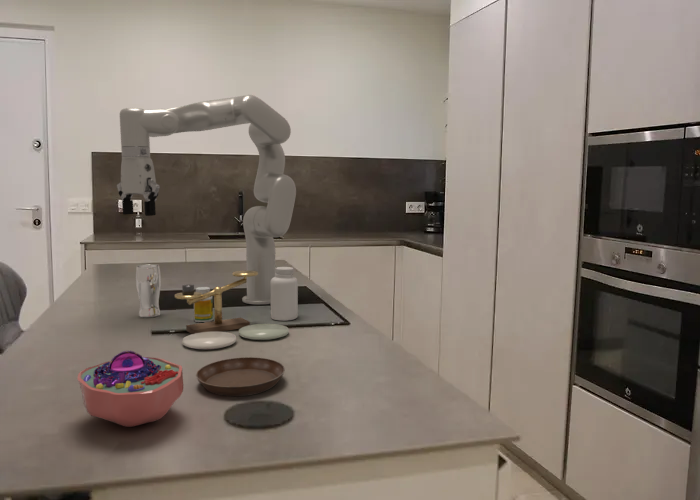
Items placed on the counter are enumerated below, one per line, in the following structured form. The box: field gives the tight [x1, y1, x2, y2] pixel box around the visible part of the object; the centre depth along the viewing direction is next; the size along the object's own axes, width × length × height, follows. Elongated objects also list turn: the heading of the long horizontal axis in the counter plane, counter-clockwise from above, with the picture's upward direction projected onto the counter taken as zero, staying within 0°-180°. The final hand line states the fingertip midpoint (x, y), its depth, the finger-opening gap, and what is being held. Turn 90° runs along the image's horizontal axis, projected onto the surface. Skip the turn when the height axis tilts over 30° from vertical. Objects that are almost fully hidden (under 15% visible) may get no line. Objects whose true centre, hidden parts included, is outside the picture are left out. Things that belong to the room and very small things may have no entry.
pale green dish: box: [238, 323, 290, 341], centre depth 158 cm, size 13×13×1 cm
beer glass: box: [135, 263, 162, 319], centre depth 178 cm, size 7×7×15 cm
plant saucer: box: [195, 356, 286, 397], centre depth 122 cm, size 18×18×3 cm
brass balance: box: [174, 270, 258, 335], centre depth 163 cm, size 23×7×15 cm, turn 125°
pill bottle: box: [270, 266, 299, 322], centre depth 176 cm, size 8×8×15 cm
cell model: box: [77, 350, 184, 428], centre depth 103 cm, size 17×20×11 cm
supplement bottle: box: [193, 286, 214, 323], centre depth 173 cm, size 5×5×10 cm
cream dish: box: [182, 331, 237, 351], centre depth 150 cm, size 13×13×1 cm
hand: (139, 214), depth 170 cm, fingers open, 9 cm apart
